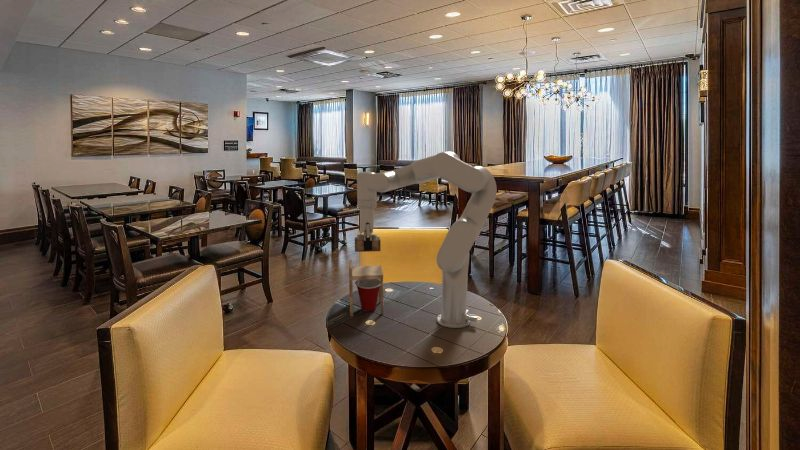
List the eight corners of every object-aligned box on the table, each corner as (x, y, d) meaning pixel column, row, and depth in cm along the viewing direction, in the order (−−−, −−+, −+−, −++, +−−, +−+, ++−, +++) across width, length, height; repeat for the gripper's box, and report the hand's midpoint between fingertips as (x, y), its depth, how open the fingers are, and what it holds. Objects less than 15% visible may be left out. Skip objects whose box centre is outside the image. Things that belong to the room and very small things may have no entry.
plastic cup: (356, 315, 169) (356, 286, 167) (354, 305, 180) (354, 277, 178) (383, 313, 171) (383, 284, 169) (380, 303, 182) (380, 276, 179)
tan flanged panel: (381, 302, 183) (380, 258, 179) (383, 314, 170) (383, 267, 166) (350, 304, 181) (348, 259, 177) (350, 316, 168) (348, 268, 165)
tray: (379, 247, 174) (379, 233, 173) (380, 251, 168) (380, 236, 167) (354, 248, 173) (354, 233, 172) (355, 251, 167) (354, 236, 166)
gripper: (357, 200, 175) (357, 243, 179) (357, 207, 158) (358, 254, 162) (375, 200, 176) (375, 242, 179) (378, 206, 159) (378, 253, 163)
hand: (367, 247), depth 171 cm, fingers closed on tray, 6 cm apart
